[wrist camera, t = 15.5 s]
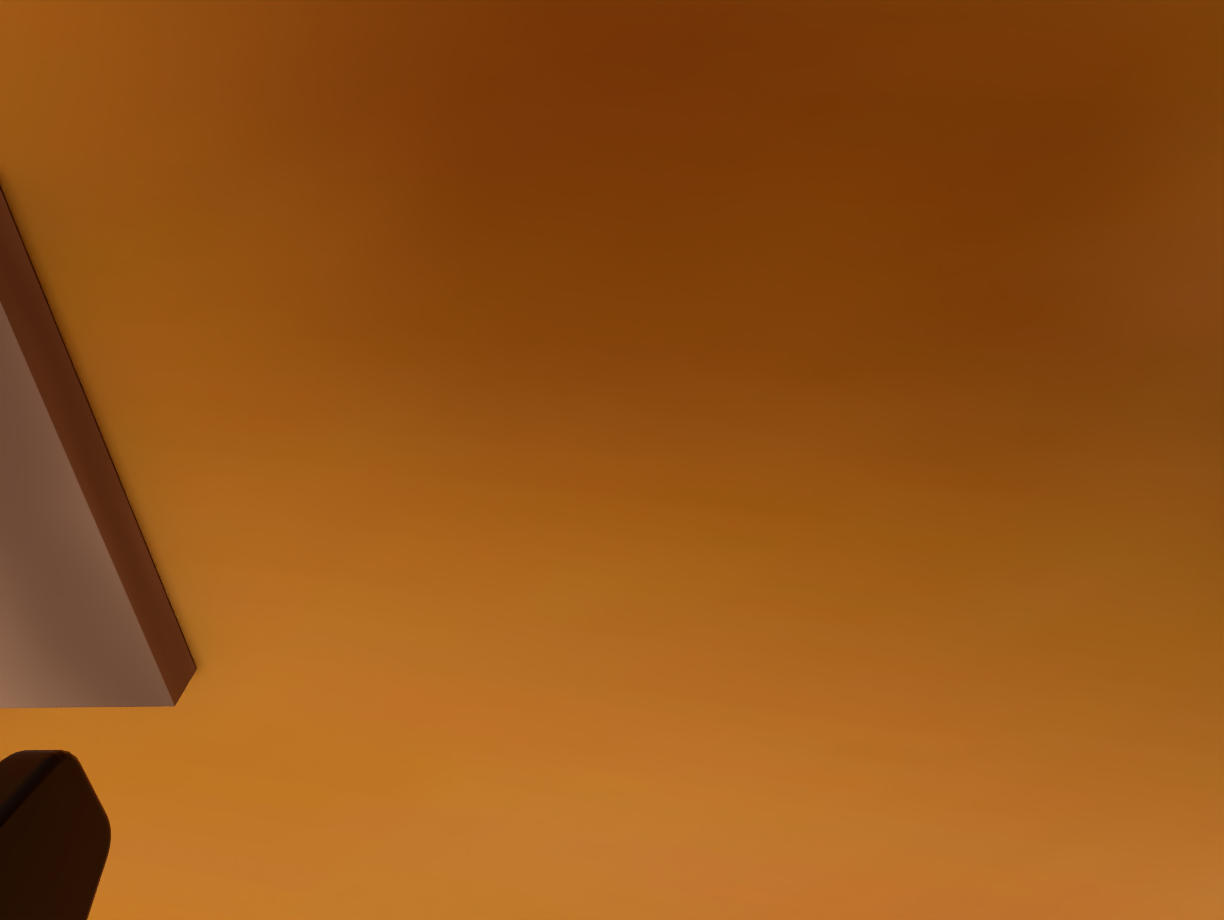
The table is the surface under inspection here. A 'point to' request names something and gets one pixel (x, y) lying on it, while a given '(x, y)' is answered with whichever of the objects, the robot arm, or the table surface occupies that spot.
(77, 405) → the flat brown board
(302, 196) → the table surface
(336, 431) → the table surface
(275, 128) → the table surface
